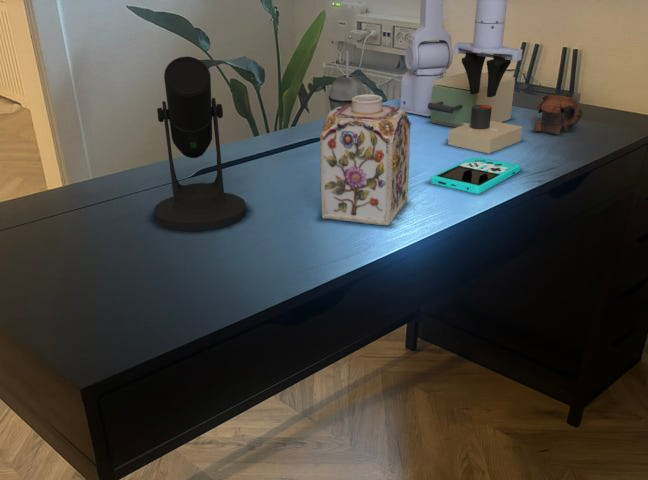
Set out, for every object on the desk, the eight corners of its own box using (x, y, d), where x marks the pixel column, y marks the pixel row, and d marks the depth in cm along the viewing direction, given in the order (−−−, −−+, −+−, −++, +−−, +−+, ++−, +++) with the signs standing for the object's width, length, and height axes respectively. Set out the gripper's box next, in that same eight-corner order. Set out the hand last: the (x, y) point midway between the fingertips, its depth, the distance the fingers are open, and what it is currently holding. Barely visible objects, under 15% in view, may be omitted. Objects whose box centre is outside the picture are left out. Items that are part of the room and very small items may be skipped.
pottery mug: (520, 131, 162) (531, 94, 162) (548, 145, 168) (558, 109, 167) (563, 128, 152) (575, 88, 152) (592, 143, 157) (603, 104, 157)
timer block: (445, 144, 153) (446, 128, 152) (478, 132, 161) (479, 117, 159) (489, 153, 147) (490, 137, 145) (520, 141, 154) (522, 125, 153)
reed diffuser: (366, 152, 149) (368, 46, 138) (364, 163, 143) (366, 53, 132) (330, 152, 150) (329, 46, 139) (327, 163, 144) (326, 53, 133)
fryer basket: (458, 132, 158) (461, 96, 154) (417, 123, 164) (419, 89, 160) (503, 116, 168) (507, 82, 165) (463, 109, 175) (466, 76, 171)
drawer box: (475, 131, 161) (479, 87, 157) (431, 122, 169) (433, 80, 164) (510, 118, 170) (515, 77, 165) (466, 110, 177) (470, 70, 172)
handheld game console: (521, 171, 137) (522, 164, 136) (479, 194, 127) (480, 187, 126) (474, 161, 143) (474, 154, 142) (429, 183, 132) (430, 175, 132)
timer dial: (466, 127, 153) (468, 105, 151) (477, 123, 155) (479, 102, 153) (482, 130, 150) (484, 108, 148) (493, 126, 153) (495, 105, 151)
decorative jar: (408, 202, 124) (414, 91, 114) (390, 227, 115) (394, 108, 105) (341, 195, 127) (341, 87, 118) (318, 219, 118) (316, 103, 109)
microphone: (155, 238, 113) (130, 64, 99) (154, 200, 127) (132, 44, 114) (252, 229, 115) (240, 58, 102) (240, 193, 129) (228, 40, 116)
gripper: (446, 21, 144) (441, 93, 151) (511, 27, 136) (503, 103, 143) (467, 17, 149) (461, 87, 156) (531, 23, 140) (522, 97, 147)
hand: (482, 95), depth 150 cm, fingers open, 3 cm apart
